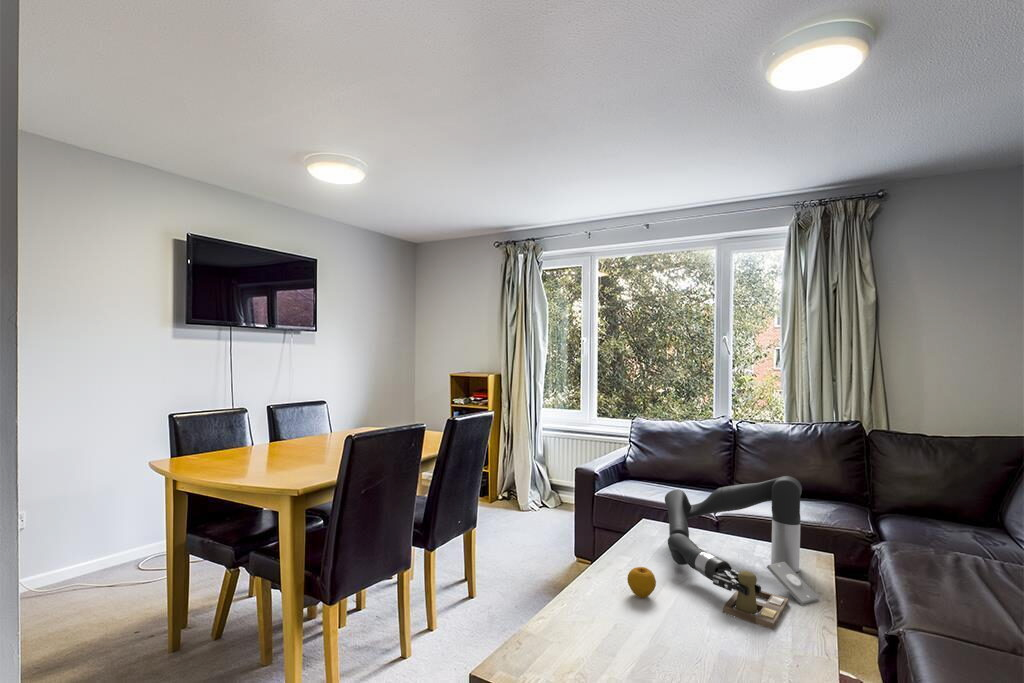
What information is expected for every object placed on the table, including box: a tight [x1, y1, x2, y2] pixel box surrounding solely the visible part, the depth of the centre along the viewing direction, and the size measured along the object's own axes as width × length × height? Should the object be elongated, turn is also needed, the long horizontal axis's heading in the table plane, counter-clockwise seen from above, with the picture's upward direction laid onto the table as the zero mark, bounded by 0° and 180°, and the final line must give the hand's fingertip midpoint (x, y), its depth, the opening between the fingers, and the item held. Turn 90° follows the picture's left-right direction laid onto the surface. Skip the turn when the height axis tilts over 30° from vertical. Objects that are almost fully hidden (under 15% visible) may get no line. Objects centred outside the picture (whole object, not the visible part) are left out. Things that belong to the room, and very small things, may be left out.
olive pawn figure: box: [735, 570, 758, 615], centre depth 156 cm, size 6×6×11 cm
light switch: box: [766, 562, 820, 606], centre depth 171 cm, size 8×6×14 cm
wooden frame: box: [722, 590, 789, 630], centre depth 159 cm, size 20×14×2 cm
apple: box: [626, 566, 657, 599], centre depth 165 cm, size 9×9×9 cm
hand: (754, 591), depth 154 cm, fingers closed on olive pawn figure, 4 cm apart
